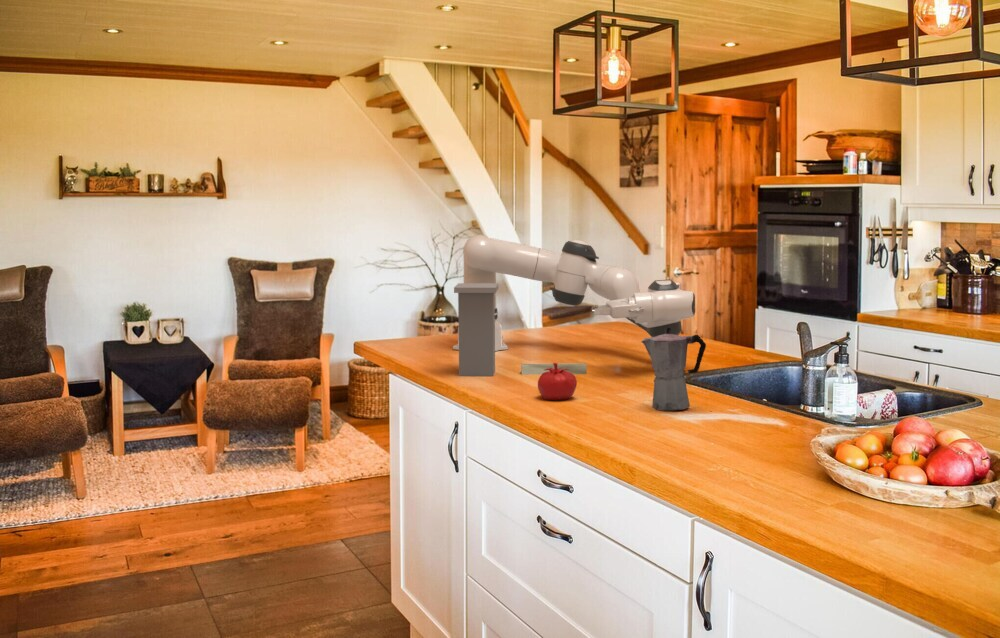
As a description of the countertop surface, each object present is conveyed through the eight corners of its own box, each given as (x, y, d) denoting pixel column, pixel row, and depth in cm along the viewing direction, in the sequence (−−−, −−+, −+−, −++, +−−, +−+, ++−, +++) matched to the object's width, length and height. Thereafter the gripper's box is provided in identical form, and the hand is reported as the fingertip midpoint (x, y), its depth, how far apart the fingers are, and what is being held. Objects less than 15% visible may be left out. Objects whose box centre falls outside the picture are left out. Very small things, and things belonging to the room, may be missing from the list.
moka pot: (639, 403, 235) (640, 324, 233) (701, 404, 234) (703, 324, 231) (641, 411, 226) (642, 329, 223) (706, 412, 224) (708, 329, 222)
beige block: (521, 373, 278) (521, 363, 278) (585, 373, 279) (585, 363, 278) (521, 375, 275) (521, 365, 275) (586, 375, 275) (586, 365, 275)
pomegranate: (579, 402, 238) (579, 366, 236) (539, 402, 237) (540, 366, 235) (572, 393, 247) (573, 359, 246) (535, 394, 247) (535, 359, 245)
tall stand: (459, 368, 285) (458, 283, 282) (498, 368, 284) (498, 283, 281) (455, 377, 271) (454, 287, 268) (496, 377, 271) (496, 287, 267)
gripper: (645, 321, 263) (596, 324, 264) (636, 315, 284) (591, 318, 284) (644, 299, 263) (594, 302, 263) (635, 295, 283) (589, 298, 284)
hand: (592, 310), depth 274 cm, fingers open, 8 cm apart
